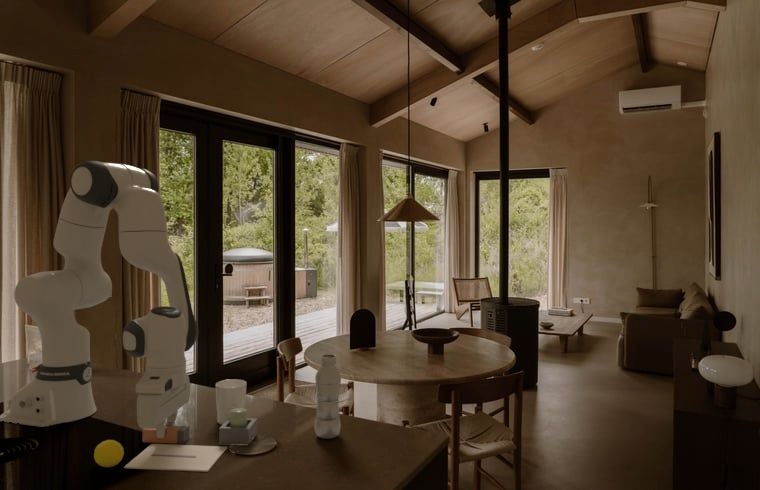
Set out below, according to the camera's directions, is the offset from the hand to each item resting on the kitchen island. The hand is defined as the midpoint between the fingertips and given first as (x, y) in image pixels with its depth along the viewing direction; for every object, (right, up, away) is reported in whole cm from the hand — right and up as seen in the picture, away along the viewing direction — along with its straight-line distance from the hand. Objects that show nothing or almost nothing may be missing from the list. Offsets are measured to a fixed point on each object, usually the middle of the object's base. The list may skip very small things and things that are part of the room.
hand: (166, 433), depth 126 cm
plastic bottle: (+38, -3, +4) cm, 39 cm away
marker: (0, -2, 0) cm, 2 cm away
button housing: (+17, -2, +1) cm, 17 cm away
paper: (+7, -2, -9) cm, 12 cm away
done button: (+17, 0, +1) cm, 17 cm away
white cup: (+12, -2, +13) cm, 18 cm away
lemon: (-7, -2, -14) cm, 15 cm away
